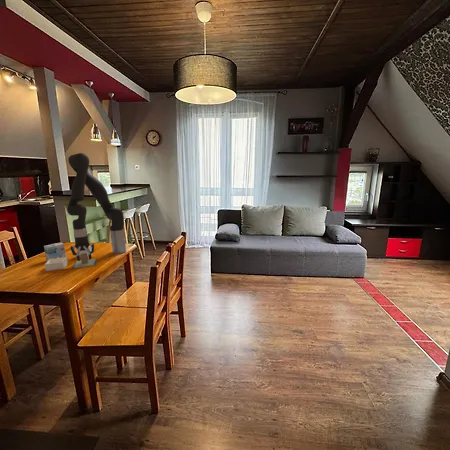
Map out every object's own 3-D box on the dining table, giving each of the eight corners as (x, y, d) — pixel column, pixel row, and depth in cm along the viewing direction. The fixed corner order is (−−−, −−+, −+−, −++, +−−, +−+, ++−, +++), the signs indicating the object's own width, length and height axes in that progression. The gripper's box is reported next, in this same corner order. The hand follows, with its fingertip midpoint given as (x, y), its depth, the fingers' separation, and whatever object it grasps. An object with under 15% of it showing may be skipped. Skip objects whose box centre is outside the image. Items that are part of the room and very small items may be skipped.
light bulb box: (49, 262, 171) (46, 247, 168) (46, 260, 175) (43, 245, 172) (66, 258, 179) (64, 243, 177) (62, 256, 183) (60, 242, 181)
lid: (95, 259, 173) (94, 250, 171) (93, 265, 163) (91, 255, 161) (77, 262, 169) (76, 252, 168) (74, 268, 159) (72, 257, 158)
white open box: (67, 264, 167) (66, 257, 166) (64, 269, 158) (62, 262, 157) (50, 266, 164) (49, 259, 163) (46, 271, 155) (44, 264, 154)
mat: (98, 259, 174) (98, 259, 174) (95, 266, 163) (95, 265, 163) (75, 262, 169) (75, 262, 169) (71, 269, 158) (71, 268, 158)
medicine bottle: (92, 254, 186) (90, 238, 183) (86, 257, 179) (84, 241, 176) (83, 254, 187) (81, 238, 184) (77, 257, 180) (74, 241, 177)
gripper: (94, 232, 168) (97, 256, 171) (69, 235, 163) (73, 259, 167) (92, 235, 161) (96, 260, 164) (66, 238, 156) (70, 263, 160)
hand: (84, 260), depth 166 cm, fingers open, 5 cm apart
